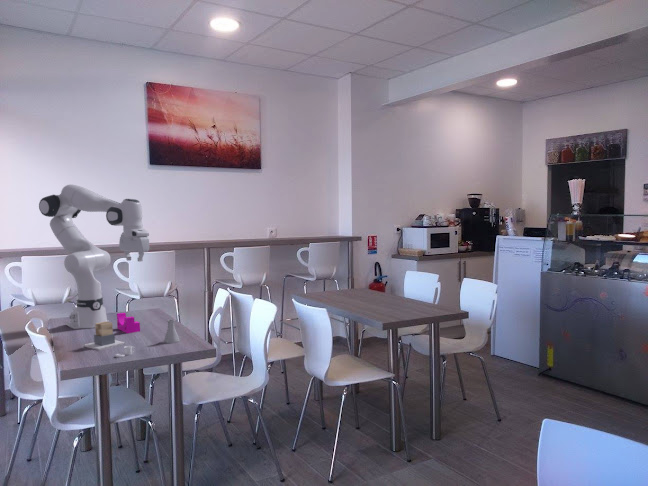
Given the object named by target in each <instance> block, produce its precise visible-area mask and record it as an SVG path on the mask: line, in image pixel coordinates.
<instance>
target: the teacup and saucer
mask: <svg viewBox="0 0 648 486" xmlns="http://www.w3.org/2000/svg"><path fill="white" fill-rule="evenodd" d="M135 349H136V348H135V346H132V345H125V346H123V353H115V358H117V357H120V358H124V357H126V356H131V355H133V353H134V352H135V351H136V350H135Z"/></svg>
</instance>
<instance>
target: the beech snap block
mask: <svg viewBox="0 0 648 486" xmlns="http://www.w3.org/2000/svg"><path fill="white" fill-rule="evenodd" d="M94 329H95V335H98V336H106V335H111V334H114V333H113V330H114V329H113V322H110V321H109V322H107V321H105V322H100V323H95V328H94Z"/></svg>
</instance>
